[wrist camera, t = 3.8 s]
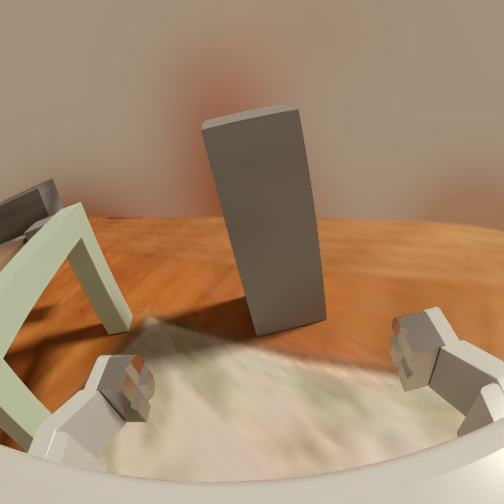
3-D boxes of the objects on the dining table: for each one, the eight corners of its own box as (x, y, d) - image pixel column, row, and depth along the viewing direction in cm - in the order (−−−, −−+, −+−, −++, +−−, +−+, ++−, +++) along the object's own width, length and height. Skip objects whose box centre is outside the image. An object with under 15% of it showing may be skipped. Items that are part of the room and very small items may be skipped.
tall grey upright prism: (326, 319, 22) (298, 109, 15) (256, 336, 22) (201, 129, 15) (309, 280, 26) (279, 104, 20) (249, 294, 26) (204, 121, 20)
